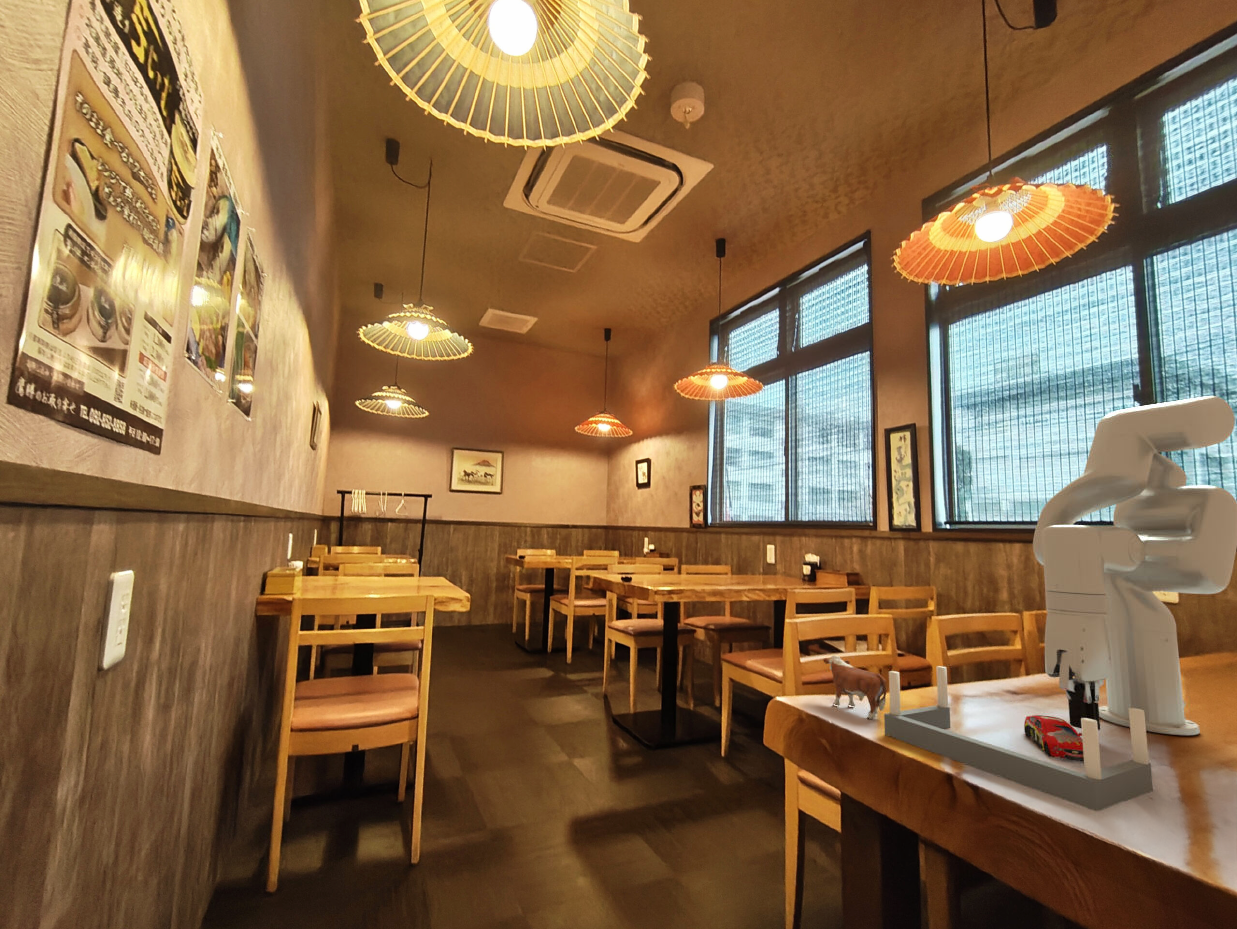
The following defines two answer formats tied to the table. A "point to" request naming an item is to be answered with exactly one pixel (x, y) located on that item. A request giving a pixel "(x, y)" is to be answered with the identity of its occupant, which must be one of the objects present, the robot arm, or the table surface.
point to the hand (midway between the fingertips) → (1085, 727)
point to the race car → (1055, 737)
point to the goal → (1055, 780)
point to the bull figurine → (857, 684)
